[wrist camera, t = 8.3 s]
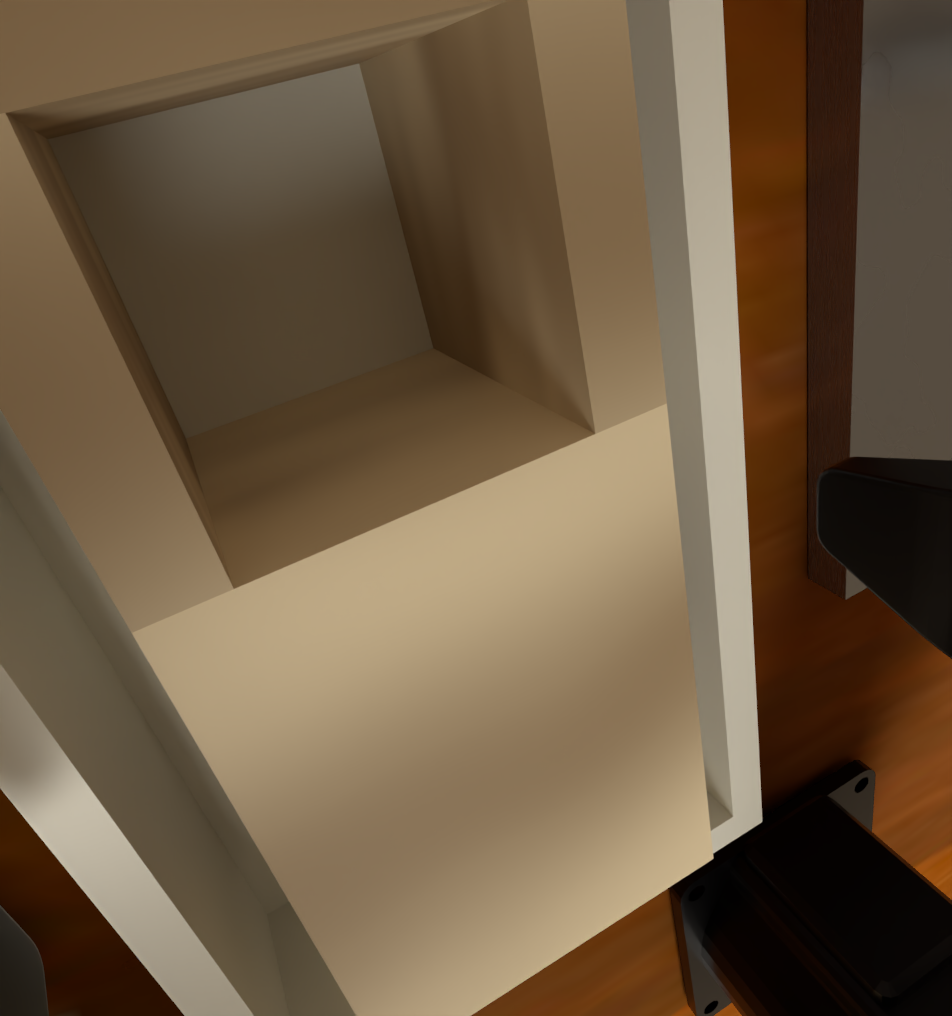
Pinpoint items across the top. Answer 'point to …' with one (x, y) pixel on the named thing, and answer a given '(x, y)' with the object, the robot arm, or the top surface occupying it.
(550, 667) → the beige rectangular block
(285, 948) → the tray
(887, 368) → the stud base
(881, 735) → the top surface
